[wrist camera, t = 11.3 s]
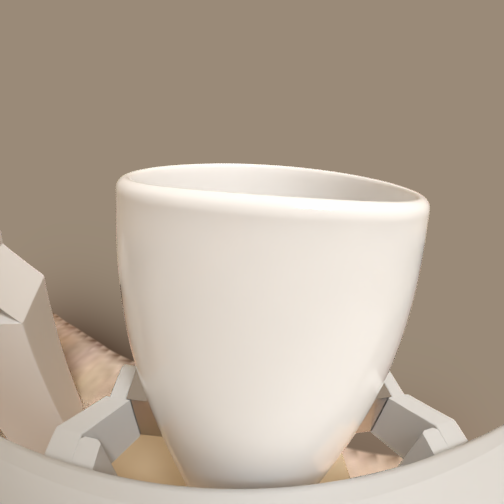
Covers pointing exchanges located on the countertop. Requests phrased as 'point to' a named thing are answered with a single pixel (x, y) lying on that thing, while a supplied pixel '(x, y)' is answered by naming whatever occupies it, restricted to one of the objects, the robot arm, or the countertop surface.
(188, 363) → the white ceramic cup
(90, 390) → the countertop surface
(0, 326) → the milk carton
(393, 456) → the countertop surface
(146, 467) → the painted box
